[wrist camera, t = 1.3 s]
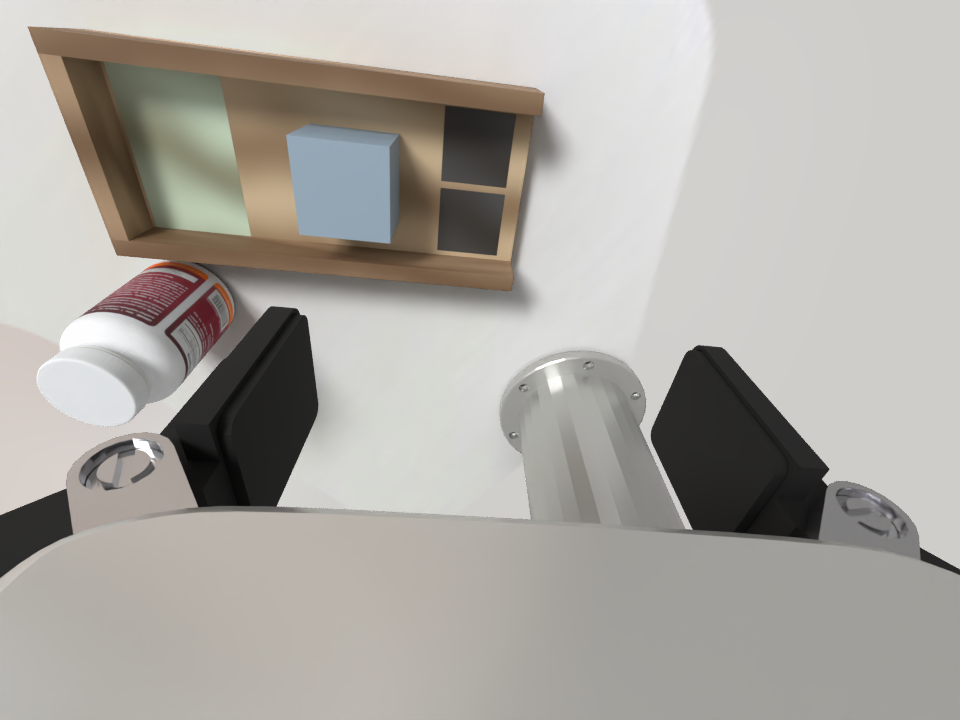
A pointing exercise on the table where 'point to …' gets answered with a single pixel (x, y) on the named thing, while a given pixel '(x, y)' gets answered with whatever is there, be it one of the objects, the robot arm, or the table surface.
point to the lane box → (286, 155)
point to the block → (345, 182)
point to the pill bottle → (137, 344)
